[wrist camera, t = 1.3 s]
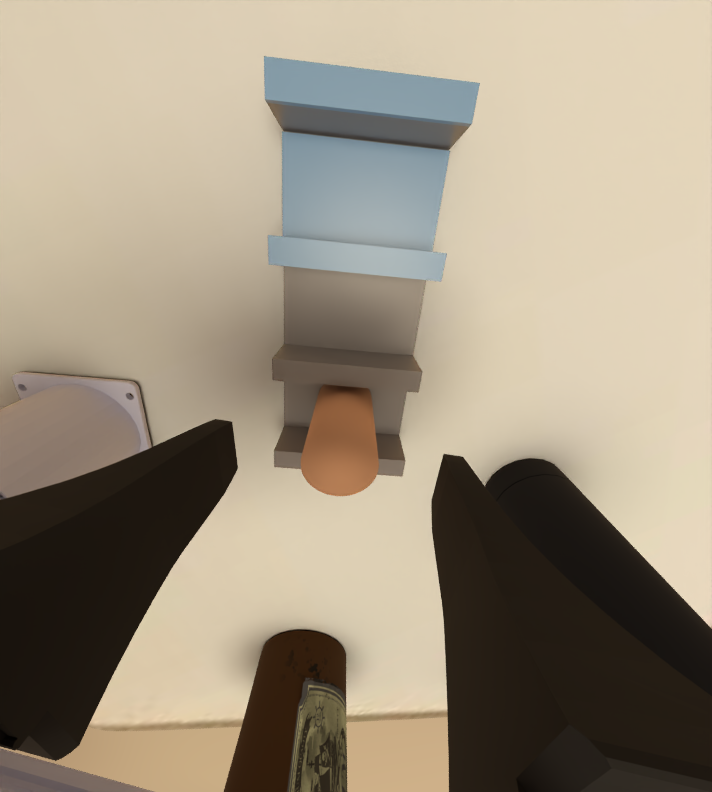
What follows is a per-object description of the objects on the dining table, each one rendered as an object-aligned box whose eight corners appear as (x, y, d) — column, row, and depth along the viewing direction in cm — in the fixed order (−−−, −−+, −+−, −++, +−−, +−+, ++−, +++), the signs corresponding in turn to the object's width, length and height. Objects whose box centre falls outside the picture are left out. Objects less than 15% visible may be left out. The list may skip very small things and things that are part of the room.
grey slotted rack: (394, 444, 23) (402, 483, 19) (287, 436, 23) (273, 473, 19) (449, 119, 15) (481, 72, 11) (287, 99, 15) (263, 45, 11)
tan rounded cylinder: (368, 426, 21) (374, 498, 15) (316, 422, 21) (299, 493, 15) (374, 377, 20) (383, 435, 14) (318, 373, 20) (301, 428, 13)
